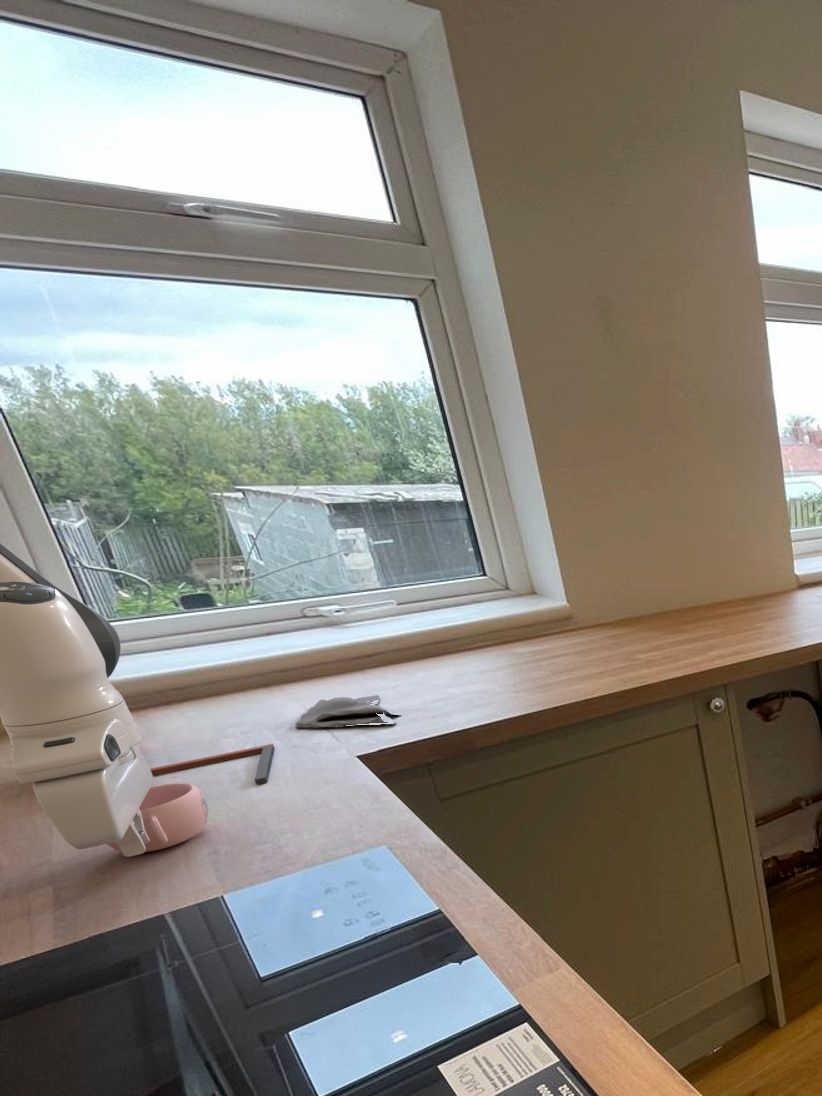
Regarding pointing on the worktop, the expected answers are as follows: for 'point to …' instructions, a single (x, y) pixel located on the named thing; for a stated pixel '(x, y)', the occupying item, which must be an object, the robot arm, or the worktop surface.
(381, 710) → the cloth
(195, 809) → the mug
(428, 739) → the worktop surface
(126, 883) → the worktop surface
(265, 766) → the strips
